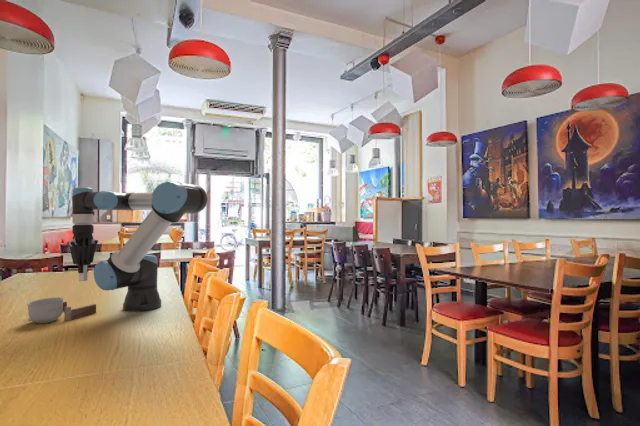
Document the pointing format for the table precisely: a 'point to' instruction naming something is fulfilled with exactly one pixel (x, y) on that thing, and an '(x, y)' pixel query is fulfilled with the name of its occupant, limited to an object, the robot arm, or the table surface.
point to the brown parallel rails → (77, 311)
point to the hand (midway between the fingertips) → (83, 280)
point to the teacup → (45, 309)
